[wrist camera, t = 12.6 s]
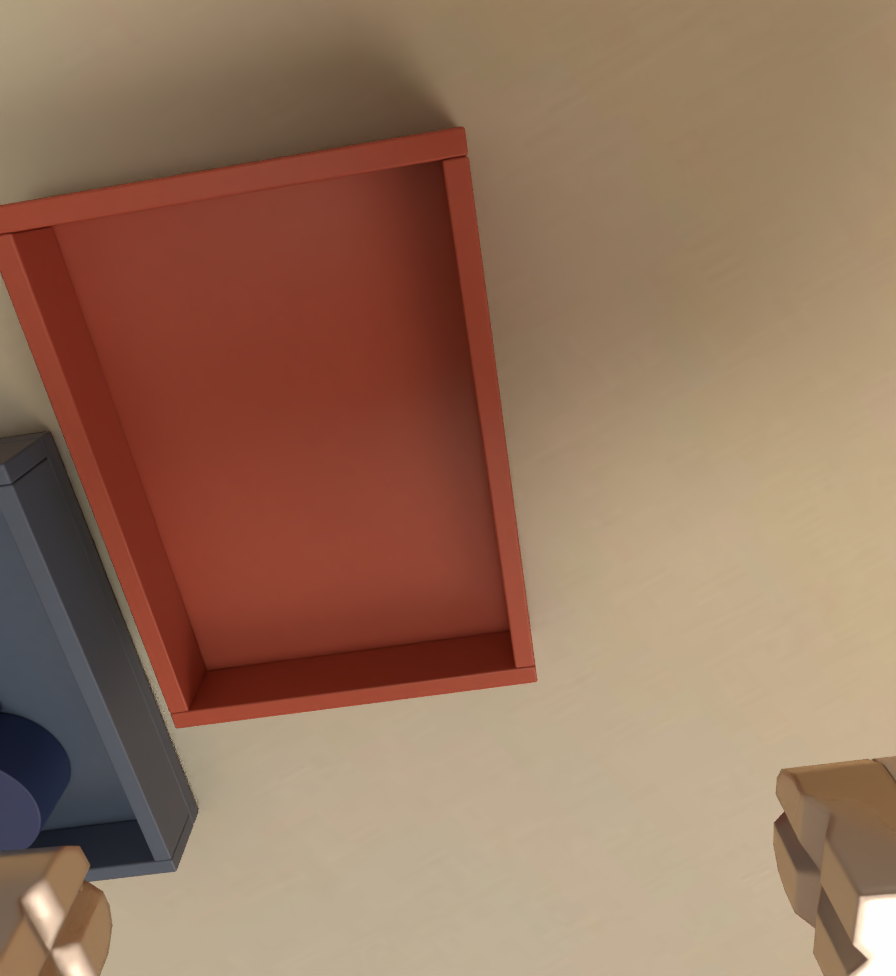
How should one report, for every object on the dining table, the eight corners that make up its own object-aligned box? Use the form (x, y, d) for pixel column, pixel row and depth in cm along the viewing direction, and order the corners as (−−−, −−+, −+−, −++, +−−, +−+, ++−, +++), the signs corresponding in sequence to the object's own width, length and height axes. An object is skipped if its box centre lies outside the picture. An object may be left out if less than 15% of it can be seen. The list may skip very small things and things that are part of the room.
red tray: (32, 202, 19) (-25, 209, 17) (461, 129, 19) (464, 125, 16) (200, 676, 25) (175, 729, 23) (528, 632, 25) (537, 682, 22)
